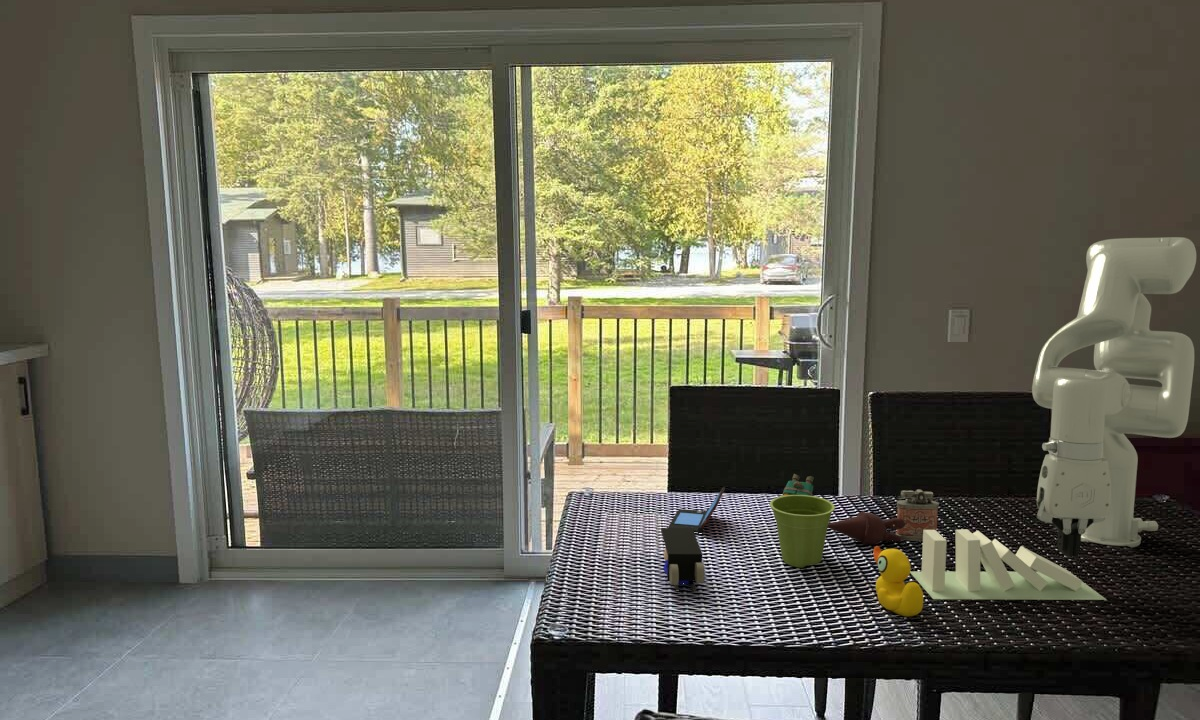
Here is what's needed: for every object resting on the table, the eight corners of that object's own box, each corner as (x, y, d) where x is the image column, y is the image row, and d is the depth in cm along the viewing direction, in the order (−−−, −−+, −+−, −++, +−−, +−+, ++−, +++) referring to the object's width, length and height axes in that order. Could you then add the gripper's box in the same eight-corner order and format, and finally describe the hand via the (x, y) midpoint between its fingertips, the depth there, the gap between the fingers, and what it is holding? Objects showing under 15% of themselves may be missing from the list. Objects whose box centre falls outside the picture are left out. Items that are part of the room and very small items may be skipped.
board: (1068, 575, 134) (1068, 571, 134) (1106, 604, 124) (1106, 599, 123) (909, 575, 136) (909, 571, 136) (933, 603, 125) (933, 598, 125)
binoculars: (777, 525, 168) (770, 496, 162) (788, 495, 173) (782, 466, 168) (818, 532, 163) (812, 503, 157) (828, 501, 169) (822, 472, 163)
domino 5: (1065, 569, 131) (1021, 545, 131) (1082, 581, 126) (1036, 557, 126) (1059, 578, 131) (1014, 555, 131) (1076, 591, 127) (1029, 567, 126)
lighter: (933, 535, 155) (936, 488, 154) (939, 541, 152) (941, 493, 150) (893, 534, 156) (895, 487, 154) (898, 540, 152) (900, 492, 151)
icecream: (833, 521, 146) (912, 528, 145) (826, 500, 153) (901, 506, 152) (827, 551, 149) (905, 558, 148) (820, 528, 155) (894, 535, 155)
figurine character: (708, 604, 130) (692, 559, 144) (709, 564, 128) (693, 523, 142) (669, 605, 129) (657, 561, 144) (669, 565, 127) (658, 524, 142)
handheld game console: (678, 513, 171) (678, 482, 170) (725, 517, 168) (725, 485, 167) (666, 533, 160) (666, 499, 159) (717, 537, 156) (717, 503, 155)
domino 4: (1032, 570, 132) (994, 538, 131) (1048, 582, 127) (1009, 549, 126) (1024, 578, 132) (986, 547, 131) (1040, 591, 127) (1000, 558, 126)
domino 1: (932, 578, 133) (934, 529, 131) (944, 591, 128) (946, 540, 126) (921, 578, 133) (923, 529, 131) (932, 591, 128) (934, 540, 126)
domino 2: (967, 578, 132) (967, 529, 131) (980, 590, 127) (980, 539, 126) (955, 578, 132) (955, 529, 131) (968, 591, 127) (968, 540, 126)
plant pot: (772, 546, 151) (773, 492, 149) (834, 553, 147) (836, 497, 145) (765, 569, 140) (766, 511, 138) (831, 577, 136) (833, 517, 134)
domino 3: (1000, 573, 132) (978, 530, 131) (1015, 586, 127) (991, 541, 126) (990, 578, 132) (967, 535, 131) (1004, 591, 127) (980, 546, 126)
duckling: (859, 597, 128) (861, 541, 126) (887, 593, 129) (889, 537, 128) (902, 628, 117) (904, 567, 115) (932, 623, 118) (934, 563, 117)
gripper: (1042, 455, 122) (1035, 562, 125) (1136, 455, 122) (1127, 562, 124) (1018, 444, 130) (1012, 545, 132) (1107, 443, 129) (1099, 545, 132)
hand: (1068, 553), depth 128 cm, fingers closed
